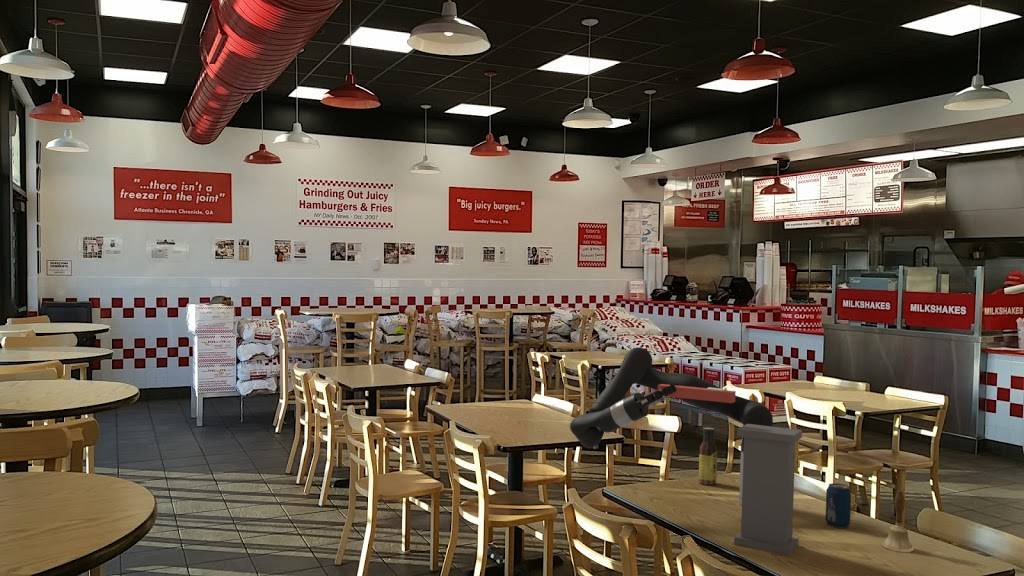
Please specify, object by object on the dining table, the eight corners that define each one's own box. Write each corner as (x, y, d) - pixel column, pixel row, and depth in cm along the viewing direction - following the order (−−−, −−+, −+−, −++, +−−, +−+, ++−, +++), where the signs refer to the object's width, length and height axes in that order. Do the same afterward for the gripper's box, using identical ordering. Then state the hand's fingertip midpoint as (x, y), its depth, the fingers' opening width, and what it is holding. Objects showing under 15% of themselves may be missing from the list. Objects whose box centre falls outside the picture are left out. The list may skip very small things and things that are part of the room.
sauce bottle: (716, 486, 287) (718, 430, 287) (698, 485, 288) (700, 429, 288) (715, 482, 294) (717, 427, 293) (698, 480, 295) (699, 426, 295)
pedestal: (734, 544, 224) (737, 428, 223) (744, 535, 232) (747, 423, 232) (790, 555, 216) (794, 435, 215) (798, 545, 224) (802, 430, 224)
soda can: (850, 524, 246) (851, 484, 246) (849, 530, 240) (850, 489, 240) (826, 520, 249) (827, 481, 249) (824, 526, 243) (825, 486, 243)
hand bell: (921, 552, 222) (923, 494, 221) (893, 553, 220) (895, 494, 220) (901, 542, 230) (903, 486, 230) (875, 543, 228) (877, 486, 228)
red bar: (657, 395, 239) (657, 383, 239) (661, 394, 242) (661, 382, 242) (731, 403, 227) (732, 391, 227) (735, 401, 230) (735, 389, 230)
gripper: (614, 401, 240) (663, 377, 232) (632, 396, 252) (679, 372, 244) (625, 424, 238) (675, 401, 230) (643, 418, 250) (691, 395, 242)
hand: (677, 386), depth 237 cm, fingers closed on red bar, 3 cm apart
